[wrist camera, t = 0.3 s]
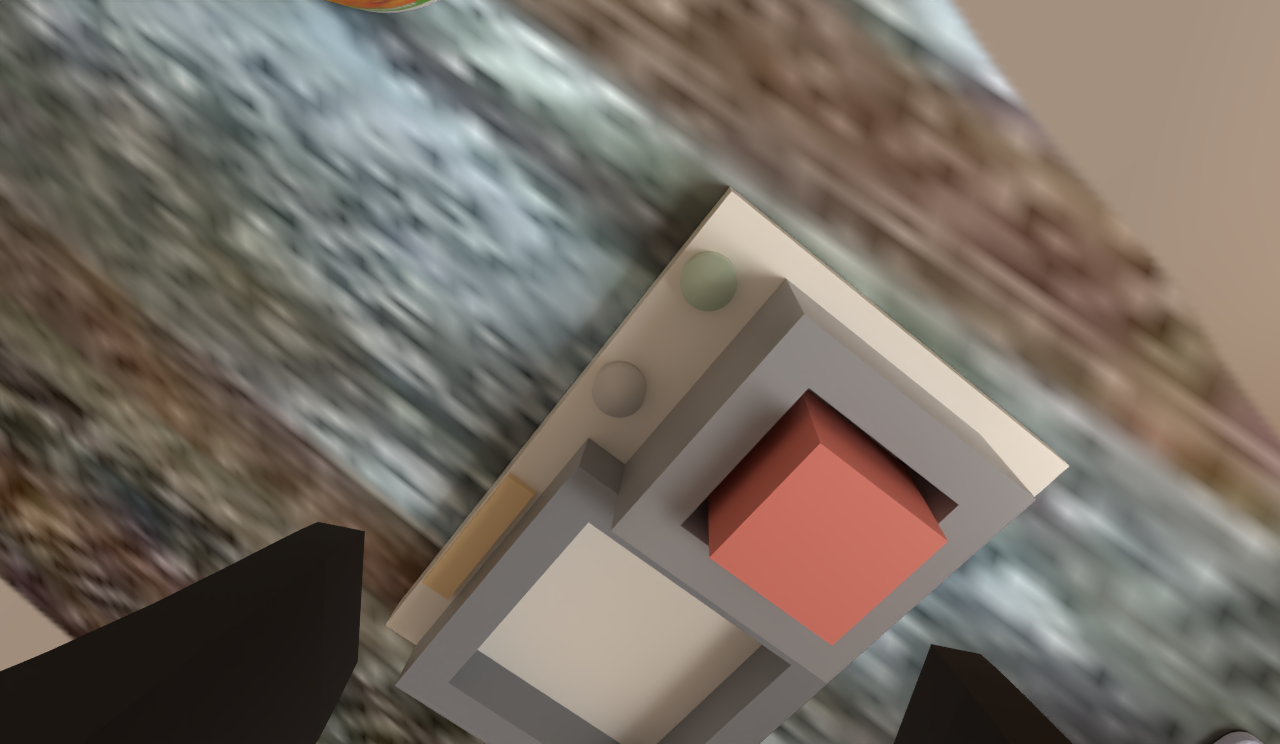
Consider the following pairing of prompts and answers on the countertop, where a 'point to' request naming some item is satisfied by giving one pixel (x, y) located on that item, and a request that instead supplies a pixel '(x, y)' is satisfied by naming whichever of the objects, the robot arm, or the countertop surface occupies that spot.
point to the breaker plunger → (820, 520)
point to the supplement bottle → (385, 5)
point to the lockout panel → (693, 509)
